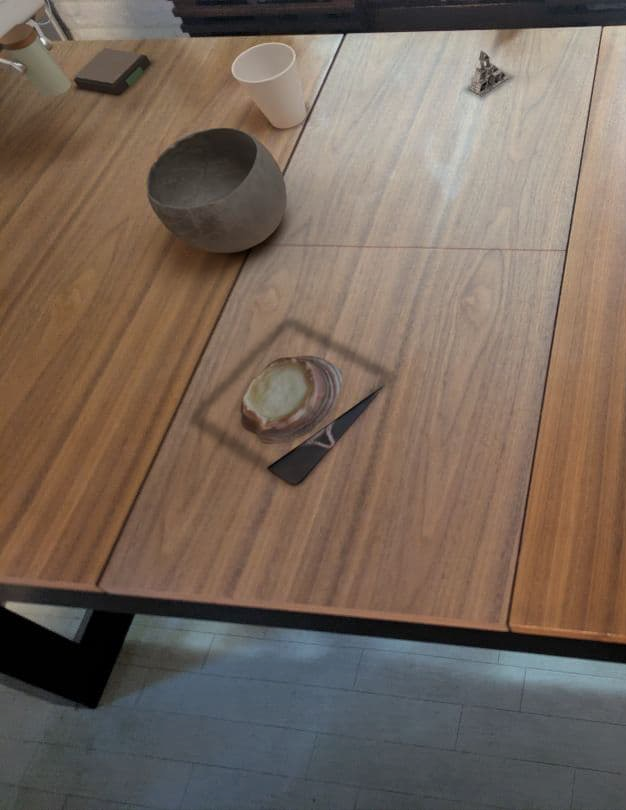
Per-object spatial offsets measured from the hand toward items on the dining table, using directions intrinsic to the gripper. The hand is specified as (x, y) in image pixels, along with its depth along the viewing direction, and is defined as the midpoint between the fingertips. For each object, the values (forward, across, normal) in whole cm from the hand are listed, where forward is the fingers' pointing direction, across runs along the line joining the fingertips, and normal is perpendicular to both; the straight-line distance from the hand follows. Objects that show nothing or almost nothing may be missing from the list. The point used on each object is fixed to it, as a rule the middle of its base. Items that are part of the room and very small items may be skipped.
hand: (37, 60), depth 122 cm
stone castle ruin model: (+60, -37, +33) cm, 78 cm away
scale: (+5, -20, -23) cm, 31 cm away
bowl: (+42, +12, +15) cm, 46 cm away
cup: (+37, -17, +10) cm, 42 cm away
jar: (+3, 0, -4) cm, 5 cm away
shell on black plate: (+61, +40, +34) cm, 80 cm away
